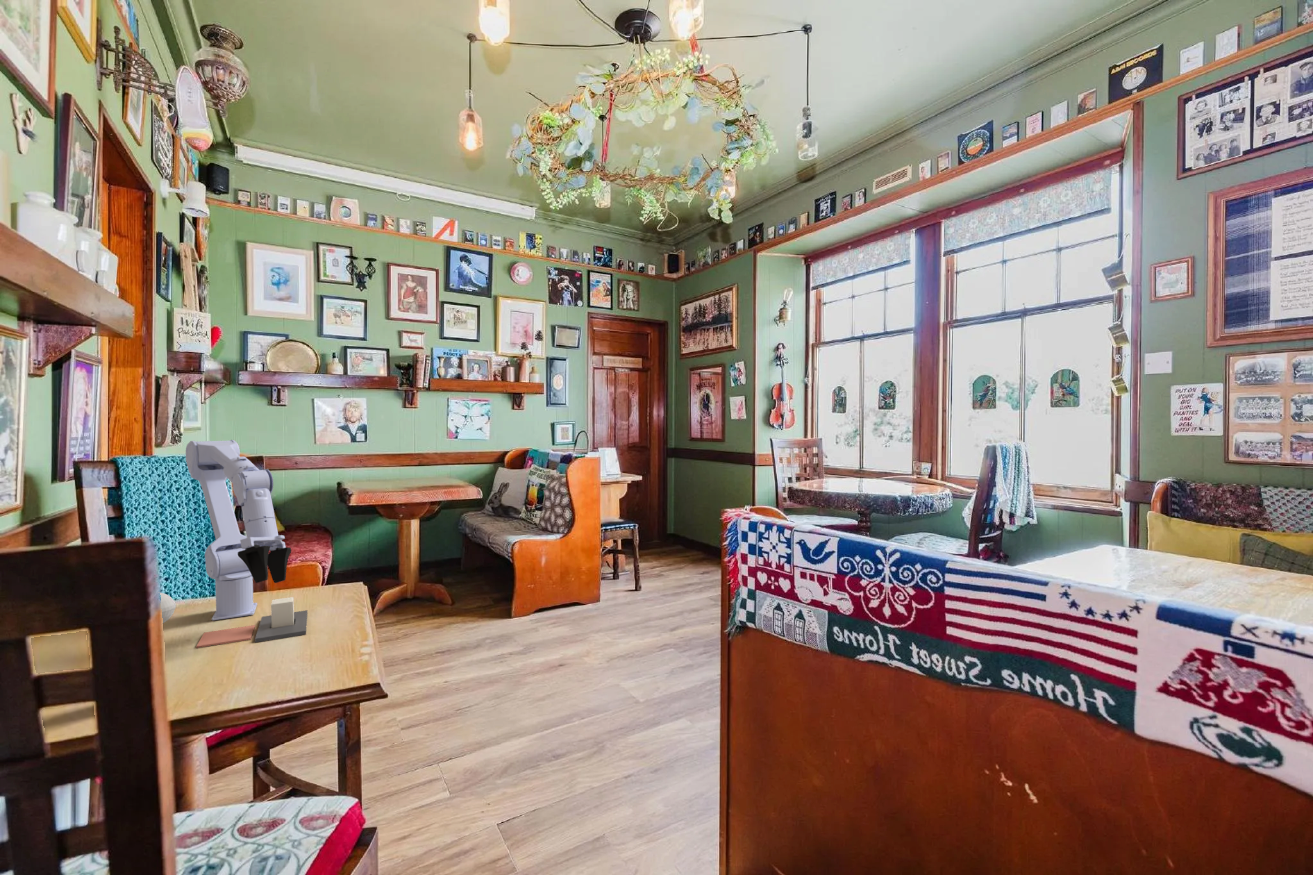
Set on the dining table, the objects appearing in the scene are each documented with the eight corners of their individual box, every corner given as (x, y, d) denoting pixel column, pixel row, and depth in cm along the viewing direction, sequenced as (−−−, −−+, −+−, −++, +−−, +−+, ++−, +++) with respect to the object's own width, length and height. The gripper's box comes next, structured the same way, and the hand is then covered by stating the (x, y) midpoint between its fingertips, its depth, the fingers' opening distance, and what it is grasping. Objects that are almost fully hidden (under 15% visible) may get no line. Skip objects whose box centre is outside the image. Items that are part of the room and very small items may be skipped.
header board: (262, 620, 133) (261, 616, 133) (307, 613, 137) (307, 610, 137) (255, 642, 119) (255, 638, 119) (305, 634, 124) (305, 630, 124)
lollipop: (126, 686, 99) (124, 600, 99) (138, 673, 105) (136, 591, 104) (172, 678, 102) (170, 595, 102) (181, 666, 107) (179, 586, 107)
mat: (204, 634, 124) (204, 632, 124) (254, 626, 128) (254, 624, 128) (196, 648, 116) (196, 646, 116) (250, 639, 121) (250, 637, 121)
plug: (273, 626, 129) (272, 599, 129) (294, 622, 131) (293, 596, 131) (271, 631, 126) (271, 604, 125) (293, 628, 128) (292, 601, 127)
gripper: (261, 512, 122) (273, 574, 119) (294, 520, 136) (305, 576, 133) (225, 522, 120) (236, 586, 118) (262, 529, 134) (273, 585, 132)
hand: (271, 581), depth 125 cm, fingers open, 7 cm apart
